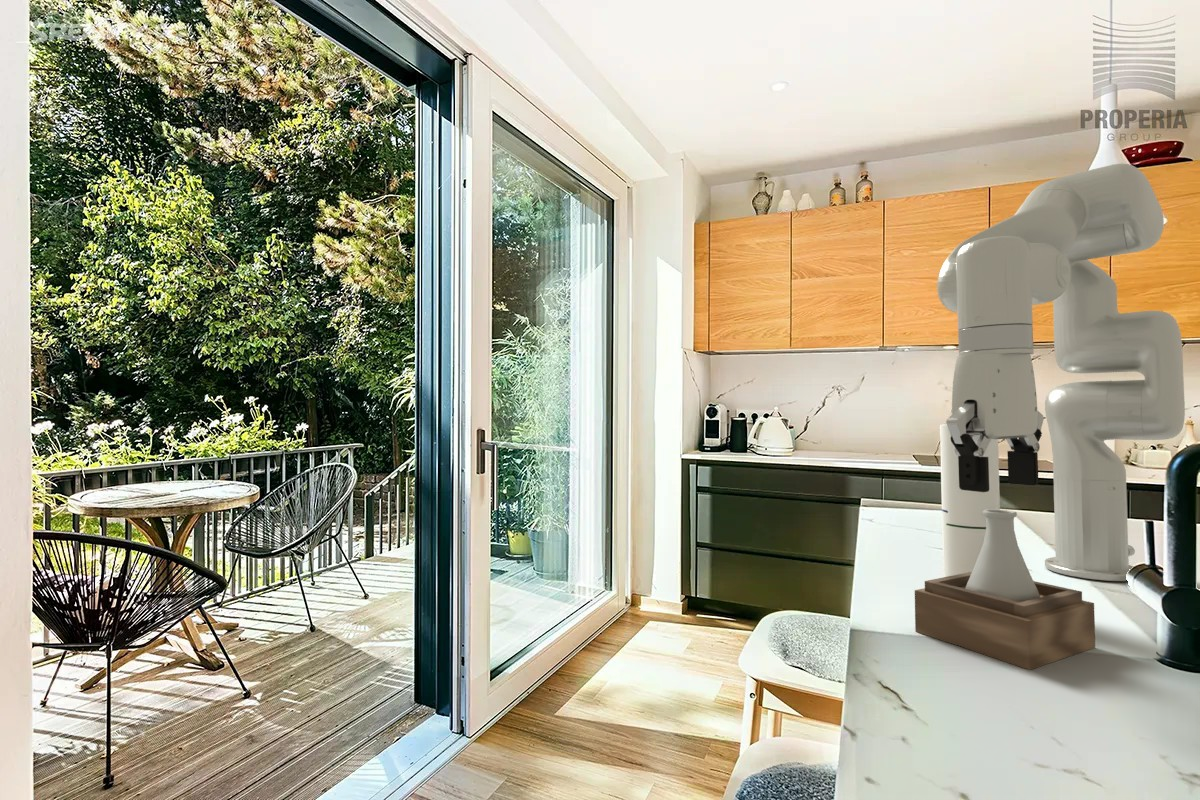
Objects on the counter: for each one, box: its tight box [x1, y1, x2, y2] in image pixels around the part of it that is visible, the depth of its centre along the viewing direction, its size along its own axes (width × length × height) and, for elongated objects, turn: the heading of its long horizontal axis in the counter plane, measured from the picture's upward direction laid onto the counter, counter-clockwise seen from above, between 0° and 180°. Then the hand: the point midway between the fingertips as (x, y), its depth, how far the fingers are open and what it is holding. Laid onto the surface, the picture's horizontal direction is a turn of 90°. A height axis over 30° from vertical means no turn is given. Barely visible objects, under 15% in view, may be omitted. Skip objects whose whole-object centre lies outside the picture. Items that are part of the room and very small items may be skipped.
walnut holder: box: [914, 572, 1096, 671], centre depth 73 cm, size 13×13×6 cm
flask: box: [965, 509, 1040, 602], centre depth 73 cm, size 7×7×10 cm
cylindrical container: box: [939, 423, 1001, 578], centre depth 88 cm, size 7×7×25 cm
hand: (999, 487), depth 74 cm, fingers open, 9 cm apart
